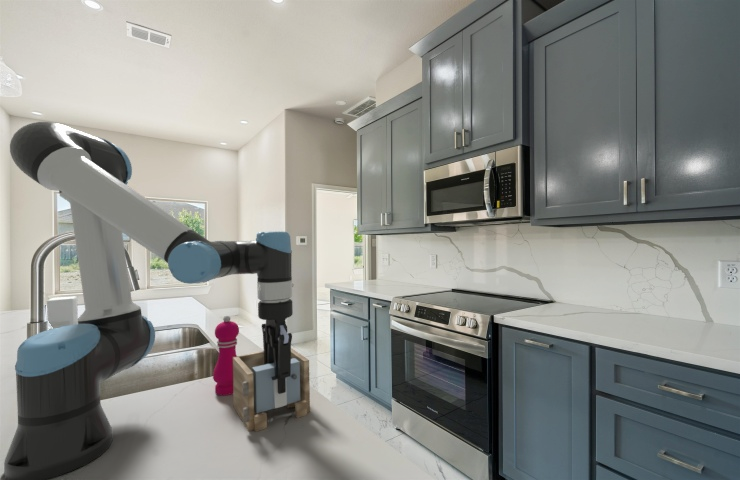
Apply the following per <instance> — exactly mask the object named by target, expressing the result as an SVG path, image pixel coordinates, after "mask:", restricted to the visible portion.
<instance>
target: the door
mask: <svg viewBox="0 0 740 480" xmlns="http://www.w3.org/2000/svg"><path fill="white" fill-rule="evenodd" d="M252 372H253V383H254V410H255V412H256V413H259V414H260V413H264V412H267V411H269V410H270V411H271V410H273V409H275V408H274V388H273V380H272V377H274V376H275V369H274V363H270V364H266V365H261V366H257V367H252ZM286 388H287V404H290V403H294V402H297V401H300V362H299V361H298V360H297V359H295V358H293V359H291V375H290V377H286Z"/></svg>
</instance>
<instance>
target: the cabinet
mask: <svg viewBox="0 0 740 480" xmlns="http://www.w3.org/2000/svg"><path fill="white" fill-rule="evenodd" d="M293 358H295V359H297V360H298V361H299V362H300V401H297V402H294V403H290V404H287V405H285V406H286V408H287V409H290V408H294V407H295V408H294V410H295V411H294V415H295V418H296V419H298V418H301V417H305V416H307V415H308V413H309V412H311V405H310V404H311V403H310V402H311V399H310V397H311V396H310V394H311V393H310V389H311V388H310V359H308V358H307V357H305V356H304V355H302V354H301V353H299V352H298V351H296V350H294V348H292V347H291V359H293ZM261 365H264V350H263V351H258V352H252V353H248V354H243V355H242V354H241V355H237V356H236V357H233V394H232V395H233V408H234V410H235V411H236V412H235V413H237V416H239V418H240V419H241V421H242V422H243V425H244V426H245V427H246V430H247V431H248V432H251V431H253V430H254V431H255V432H258V431H262V430H264V429H268V414H267V411H263V412H260V413H256V412H255V410H254V383H253V372H252V367H257V366H261Z"/></svg>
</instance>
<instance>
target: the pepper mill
mask: <svg viewBox="0 0 740 480" xmlns="http://www.w3.org/2000/svg"><path fill="white" fill-rule="evenodd" d="M222 320H223V321H222V322H220V323H219V324H217V325H216V327H215V329H214V336H215V337H216V339H217V341H216V343H217V344H216V346H217V348H218V357H217V361H216V364H215V366H214V369H213V373H212V380H213V381H214V383H216V384H215V385H214V390H215V391H214V392H215V394H216V395H218V396H230V395H233V357H236V356H238V355H237V351H236V350H237V349H236V346H237V345H238V338H237V337H238V336H239V334H240V327H239V325H238V324H237V323H236V322H235V321H231V317H230V316H229V315H225V316H224V317H223V319H222Z"/></svg>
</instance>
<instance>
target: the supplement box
mask: <svg viewBox="0 0 740 480" xmlns="http://www.w3.org/2000/svg"><path fill="white" fill-rule="evenodd" d="M46 306H47V307H46V309H47V310H46V311H47V322H48V321H49V323H50V324H51V326H52V327H53V328H60V327H62V326H67V325H73V324H78V318H79V315H78V312H79V311H78V296H77V295H75V296H71V295H70V296H62V297H61V296H59V297H52V298H50V299H47V300H46Z"/></svg>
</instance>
